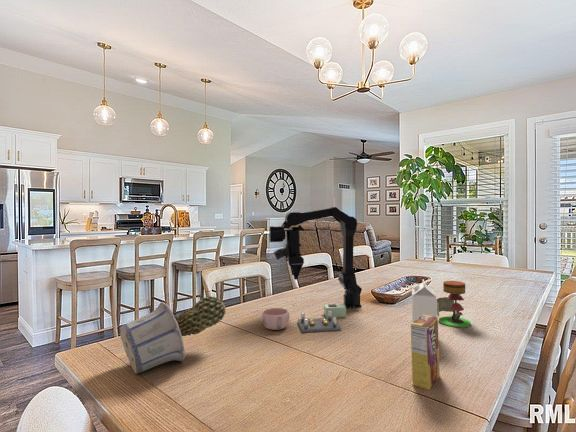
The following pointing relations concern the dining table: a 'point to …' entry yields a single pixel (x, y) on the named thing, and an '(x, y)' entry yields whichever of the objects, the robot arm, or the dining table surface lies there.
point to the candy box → (425, 351)
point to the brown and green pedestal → (452, 304)
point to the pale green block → (335, 310)
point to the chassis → (318, 323)
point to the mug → (275, 318)
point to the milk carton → (423, 301)
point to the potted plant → (167, 332)
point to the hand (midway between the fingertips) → (294, 277)
